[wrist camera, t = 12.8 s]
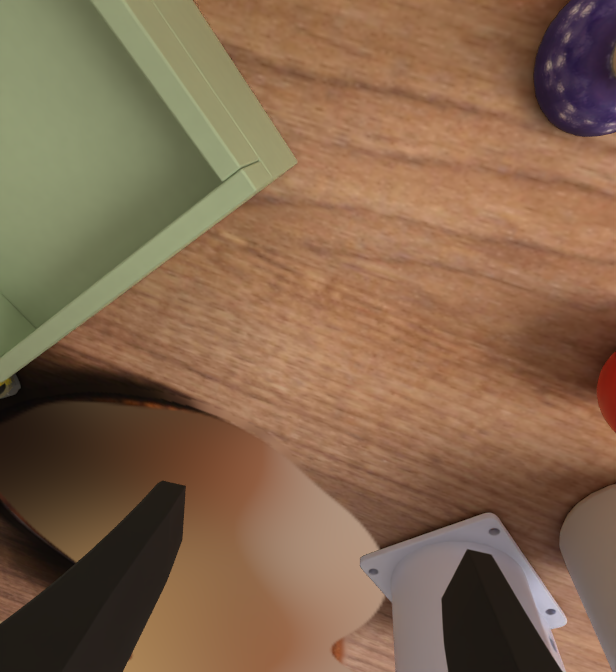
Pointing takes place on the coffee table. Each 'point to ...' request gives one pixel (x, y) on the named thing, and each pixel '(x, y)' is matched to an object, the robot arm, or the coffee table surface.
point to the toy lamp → (579, 69)
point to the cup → (594, 562)
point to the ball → (608, 391)
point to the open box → (113, 155)
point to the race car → (9, 386)
